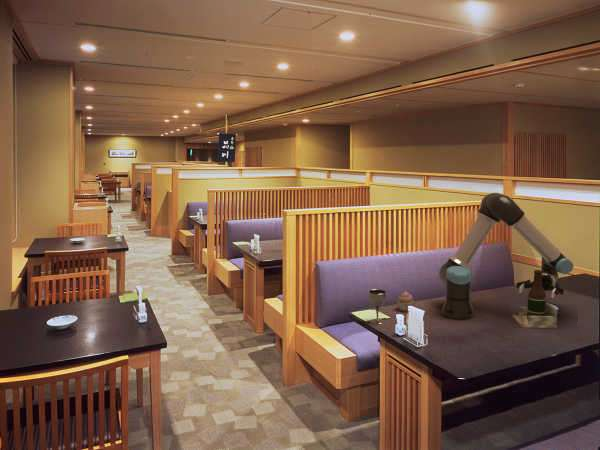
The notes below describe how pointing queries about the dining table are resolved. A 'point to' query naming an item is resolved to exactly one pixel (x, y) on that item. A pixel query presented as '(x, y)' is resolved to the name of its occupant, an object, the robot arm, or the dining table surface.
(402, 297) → the cupcake
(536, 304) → the beer bottle
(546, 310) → the wooden display stand
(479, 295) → the dining table surface
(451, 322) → the dining table surface
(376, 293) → the wine glass
